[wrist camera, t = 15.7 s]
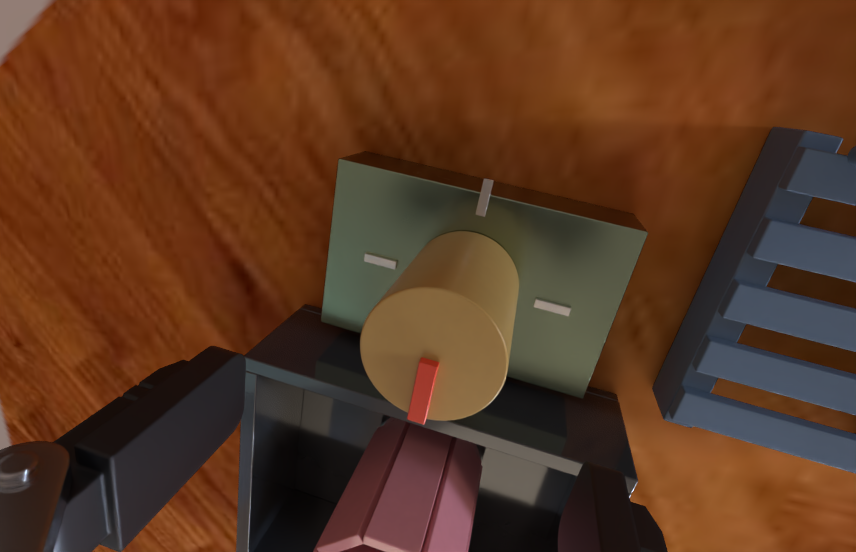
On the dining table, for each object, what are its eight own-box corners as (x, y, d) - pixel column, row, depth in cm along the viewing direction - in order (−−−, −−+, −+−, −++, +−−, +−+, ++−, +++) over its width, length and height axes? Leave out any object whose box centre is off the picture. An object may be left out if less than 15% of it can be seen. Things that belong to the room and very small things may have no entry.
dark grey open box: (305, 303, 25) (242, 356, 20) (617, 394, 22) (638, 480, 17) (288, 486, 30) (235, 565, 25) (539, 575, 27) (538, 683, 22)
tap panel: (366, 138, 21) (337, 144, 18) (639, 200, 19) (655, 218, 16) (344, 306, 24) (317, 334, 21) (574, 372, 22) (579, 412, 20)
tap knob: (422, 218, 18) (366, 273, 13) (532, 246, 18) (526, 316, 12) (403, 315, 20) (347, 401, 14) (503, 343, 19) (486, 446, 14)
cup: (383, 395, 25) (316, 517, 18) (492, 429, 24) (470, 573, 17) (368, 477, 27) (304, 616, 20) (467, 511, 26) (438, 668, 19)
